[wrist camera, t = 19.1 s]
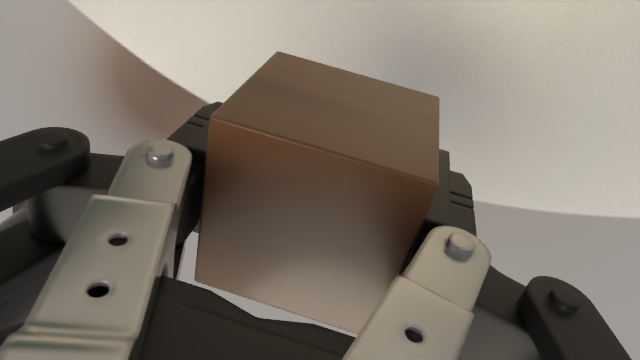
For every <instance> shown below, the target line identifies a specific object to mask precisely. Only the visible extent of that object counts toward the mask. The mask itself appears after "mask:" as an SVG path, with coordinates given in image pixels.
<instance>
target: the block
mask: <svg viewBox="0 0 640 360" xmlns="http://www.w3.org/2000/svg"><path fill="white" fill-rule="evenodd" d="M438 186H439V98H438V97H436V96H433V95H429V94H426V93H422V92H419V91H415V90H412V89H408V88H405V87H401V86H398V85H394V84H391V83H387V82H384V81H380V80H377V79H373V78H370V77H366V76H363V75H359V74H356V73H352V72H349V71H345V70H342V69H338V68H335V67H331V66H328V65H324V64H321V63H317V62H314V61H310V60H307V59H303V58H300V57H296V56H293V55H289V54H286V53H282V52H276V53H275V54H274V55H273V56H272V57H271V58H270V59H269V60H268V61H267V62H266V63H265V64H264V65H263V66H262V67H261V68H260V69H258V70H257V71H256V72H255V73H254V74H253V75H252V76H251V77H250V78H249V79H248V80H247V81H246V82H245V83H244V84H243V85H242V86H241V87H240V88H239V89H238V90H237V91H236V92H235V93H234V94H232V95H231V96H230V97H229V98H228V99H227V100H226V101H225V102H224V103H223V104H222V105H221V106H220V107H219V108H218V109H217V110H216V111H215V112H214V113H213V114H212V115H211V116H210V119H209V130H208V141H207V151H206V162H205V173H204V183H203V194H202V205H201V215H200V226H199V237H198V248H197V258H196V269H195V281H197V282H199V283H202V284H205V285H208V286H211V287H215V288H217V289H221V290H224V291H227V292H230V293H233V294H236V295H239V296H242V297H245V298H248V299H251V300H254V301H257V302H261V303H264V304H267V305H270V306H273V307H276V308H279V309H282V310H285V311H288V312H291V313H295V314H298V315H301V316H304V317H307V318H310V319H313V320H317V321H319V322H323V323H326V324H328V325H331V326H335V327H338V328H341V329H344V330H347V331H350V332H353V333H356V334H359V332H360V331H361V329H362V328H363V326H364V325H365V323H366V322H367V320H368V318H369V317H370V315H371V314H372V312H373V311H374V309H375V308H376V306H377V305H378V303H379V302H380V300H381V299H382V297H383V296H384V294H385V293H386V291H387V289H388V288H389V286H390V285H391V283H392V282H393V280H394V279H395V277H396V276H397V275H398V274H399V273H400V274H401V273H402V271H403V269H404V266H405V264H406V262H407V259H408V257H409V255H410V252H411V250H412V247H413V245H414V243H415V240H416V238H417V236H418V233H419V231H420V229H421V226H422V224H423V221H424V219H425V217H426V214H427V212H428V210H429V207H430V205H431V203H432V200H433V198H434V195H435V193H436V191H437V188H438Z"/></svg>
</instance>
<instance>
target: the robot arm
mask: <svg viewBox="0 0 640 360" xmlns="http://www.w3.org/2000/svg"><path fill="white" fill-rule="evenodd" d="M222 104H223V103H221V102H215V103H212V104H209V105H206V106H203V107H202V108H201V109H200V110H199V111H198V112H196V113H195V114H194V117H193V116H192V117H191V118H190V119H189V120H188V121H187V123H184V124H183V125H182V126H181V127H180V128H179V129H178V130H176V131H175V132H174V133H173V134H172V135H171V136H170V137H169V138H168V139H167V140H161V139H154V140H146V141H141V142H138V143H136V144H134V145H132V146H131V147H130V148H129V149H128V151H127V153H126V155H125V156H116V155H106V154H96V153H90V143H89V139H88V138H87V136H85V135H84V134H83V133H81V132H79V131H76V130H73V129H69V128H62V127H48V128H40V129H36V130H32V131H29V132H26V133H23V134H21V135H18V136H14V137H11V138H8V139H5V140H2V141H0V212H1V211H3V210H6V209H8V208H10V207H12V206H14V205H17V204H19V203H21V202H23V201H26V204H24V205H23V206H22V207H21V208H20V209H19V210H18V211H17V212H15V213H14V214H13V215H11V216H10V217H9V218H7V219H6V220H4V221H3V222H2V223H0V360H632V359H631V358H630V357H629V355H628V354H627V352H626V351H625V349H624V348H623V347H622V345H621V344H620V342H619V341H618V339H617V338H616V336H615V335H614V333H613V332H612V331H611V329H610V328H609V326H608V325H607V323H606V322H605V321H604V319H603V318H602V316H601V315H600V313H599V312H598V310H597V309H596V308H595V306H594V305H593V303H592V302H591V301H590V300H589V299H588V298H587V297H586V296H585V295H584V294H583V293H582V292H581V291H579V290H578V289H577V288H575V287H574V286H572V285H570V284H568V283H566V282H564V281H562V280H559V279H557V278H553V277H548V276H538V277H535V278H533V279H532V280H531V281H530V282H529V284H528V285H527V286H524V285H522V284H520V283H518V282H516V281H514V280H513V279H511V278H509V277H507V276H505V275H504V274H502V273H500V272H499V271H497V270H496V269H495V268H493V267H492V266H491V265H490V263H491V254H490V251H489V249H488V248H487V247H486V245H485V244H484V243H483V242H482V241H481V240H480V239H478V238H477V236H476V226H475V216H474V210H473V207H474V206H473V200H472V198H473V197H472V187H471V185H470V184H469V182H468V181H467V180H466V178H465V177H464V175H463V174H460V173H457V172H453V171H450V162H449V152H448V151H445V150H441V149H439V186H438V188H437V191H436V193H435V195H434V198H433V200H432V203H431V205H430V207H429V210H428V212H427V214H426V217H425V219H424V221H423V224H422V226H421V229H420V231H419V233H418V236H417V238H416V240H415V243H414V245H413V247H412V250H411V252H410V255H409V257H408V259H407V262H406V264H405V266H404V269H403V271H402V273H401V274H400V273H399V274H398V275H397V276H396V277H395V279H394V280H393V282H392V283H391V285H390V286H389V288H388V289H387V291H386V293H385V294H384V296H383V297H382V299H381V300H380V302H379V303H378V305H377V306H376V308H375V309H374V311H373V312H372V314H371V315H370V317H369V318H368V320H367V322H366V323H365V325H364V326H363V328H362V329H361V331H360V332H359V334H358V335H357V337H356V338H355V337H352V336H349V335H346V334H343V333H340V332H337V331H334V330H330V329H327V328H324V327H321V326H318V325H315V324H309V323H299V322H290V321H280V320H271V319H262V318H258V317H255V316H253V315H251V314H249V313H248V312H246V311H244V310H242V309H241V308H239V307H237V306H236V305H234V304H232V303H231V302H229V301H227V300H226V299H224V298H222V297H221V296H219V295H217V294H215V293H213V292H212V291H210V290H207V289H204V288H201V287H198V286H195V285H192V284H188V283H185V282H182V281H179V280H178V279H179V274H180V270H181V265H182V261H183V256H184V252H185V243H186V239H187V237H188V236H189V234H190V233H191V232H192V231H194V232H197V233H199V226H200V215H201V205H202V194H203V183H204V173H205V162H206V151H207V141H208V130H209V119H210V116H211V115H212V114H213V113H214V112H215V111H216V110H217V109H218V108H219V107H220V106H221V105H222Z"/></svg>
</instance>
